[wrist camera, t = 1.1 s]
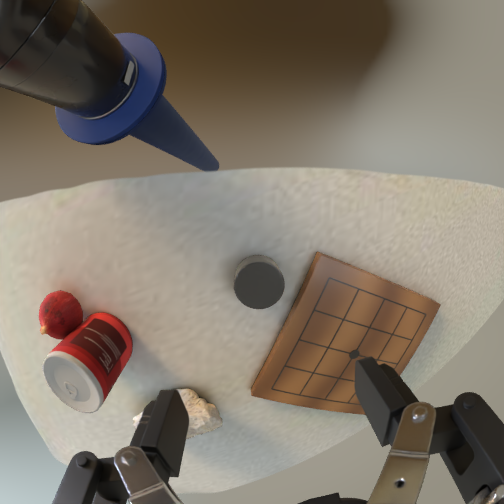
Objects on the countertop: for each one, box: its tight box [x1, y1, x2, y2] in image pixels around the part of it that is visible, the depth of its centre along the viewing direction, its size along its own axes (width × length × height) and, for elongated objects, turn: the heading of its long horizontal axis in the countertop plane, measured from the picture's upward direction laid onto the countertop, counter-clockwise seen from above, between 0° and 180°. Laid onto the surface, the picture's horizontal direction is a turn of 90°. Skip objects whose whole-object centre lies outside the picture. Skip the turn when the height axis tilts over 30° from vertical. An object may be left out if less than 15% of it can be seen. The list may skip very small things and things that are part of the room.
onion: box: [39, 290, 83, 339], centre depth 26 cm, size 6×6×8 cm
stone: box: [133, 389, 222, 439], centre depth 30 cm, size 8×12×10 cm
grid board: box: [251, 252, 440, 415], centre depth 32 cm, size 20×20×2 cm
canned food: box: [43, 313, 133, 413], centre depth 26 cm, size 8×8×11 cm
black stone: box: [234, 255, 284, 309], centre depth 29 cm, size 5×5×3 cm
